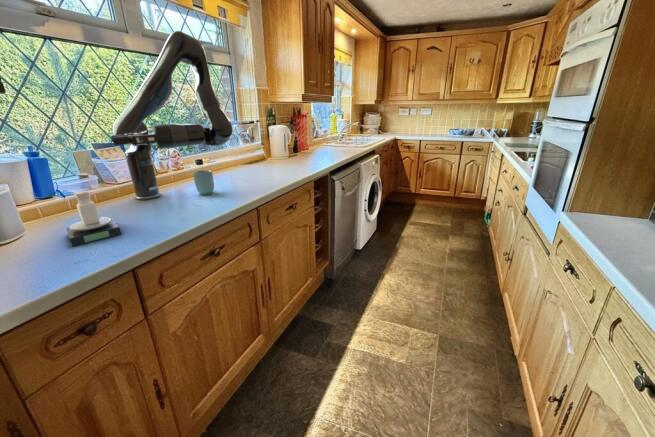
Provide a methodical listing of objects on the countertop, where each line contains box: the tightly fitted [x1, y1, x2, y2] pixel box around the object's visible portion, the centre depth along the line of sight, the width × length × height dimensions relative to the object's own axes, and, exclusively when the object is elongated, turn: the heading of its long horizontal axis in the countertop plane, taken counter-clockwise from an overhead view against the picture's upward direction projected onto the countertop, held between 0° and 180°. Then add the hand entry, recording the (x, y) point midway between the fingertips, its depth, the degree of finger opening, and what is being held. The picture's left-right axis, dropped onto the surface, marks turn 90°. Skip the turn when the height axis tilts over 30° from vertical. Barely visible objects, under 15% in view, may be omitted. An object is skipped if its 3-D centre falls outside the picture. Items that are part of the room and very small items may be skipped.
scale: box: [65, 216, 122, 247], centre depth 93 cm, size 12×12×4 cm
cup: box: [192, 169, 215, 196], centre depth 134 cm, size 8×8×10 cm
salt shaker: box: [74, 190, 100, 225], centre depth 91 cm, size 4×4×10 cm
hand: (112, 140), depth 90 cm, fingers open, 8 cm apart
